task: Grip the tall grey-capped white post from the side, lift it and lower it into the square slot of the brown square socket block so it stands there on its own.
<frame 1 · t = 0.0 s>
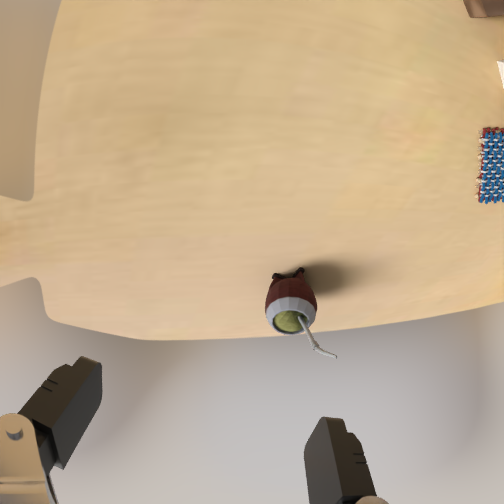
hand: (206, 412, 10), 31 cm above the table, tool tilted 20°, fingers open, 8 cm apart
mate gourd: (294, 280, 47), on the table
woven mat: (502, 161, 32), on the table
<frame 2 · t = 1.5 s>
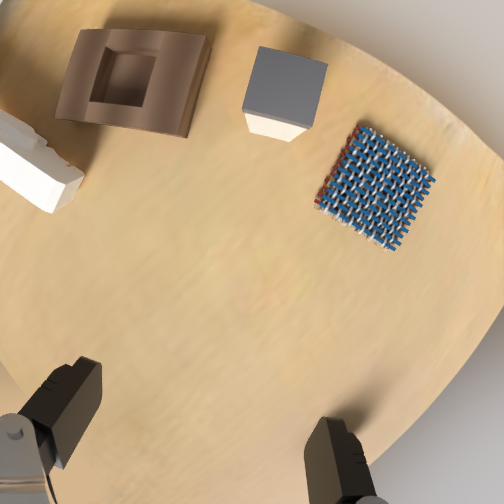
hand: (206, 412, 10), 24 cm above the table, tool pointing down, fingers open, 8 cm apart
grey-capped white post: (274, 118, 30), on the table
brown square socket block: (137, 83, 29), on the table
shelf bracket: (22, 136, 31), on the table
woven mat: (373, 188, 32), on the table
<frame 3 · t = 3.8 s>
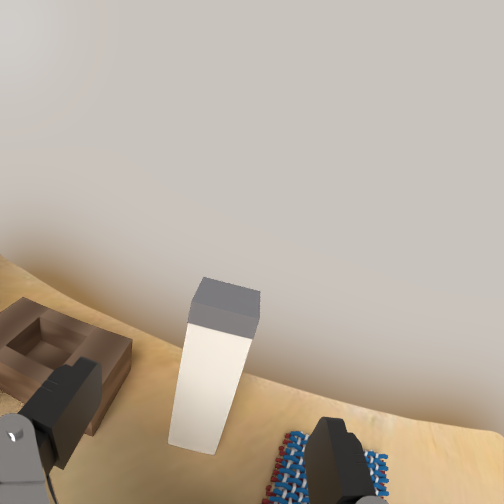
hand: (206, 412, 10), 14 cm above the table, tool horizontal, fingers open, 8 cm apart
grey-capped white post: (194, 433, 25), on the table
brown square socket block: (50, 373, 25), on the table
woven mat: (325, 491, 21), on the table
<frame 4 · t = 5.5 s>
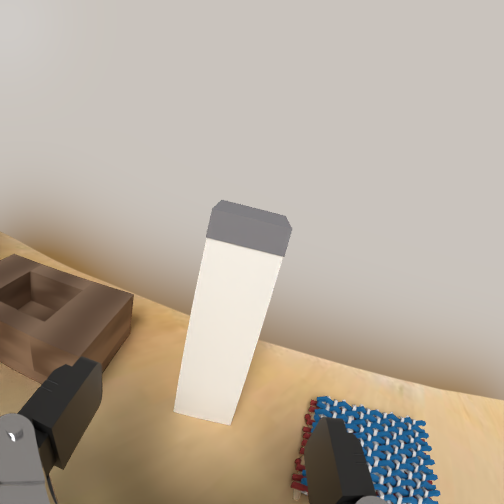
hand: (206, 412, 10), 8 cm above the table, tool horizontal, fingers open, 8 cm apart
grey-capped white post: (205, 400, 22), on the table
brown square socket block: (38, 334, 22), on the table
woven mat: (361, 465, 19), on the table
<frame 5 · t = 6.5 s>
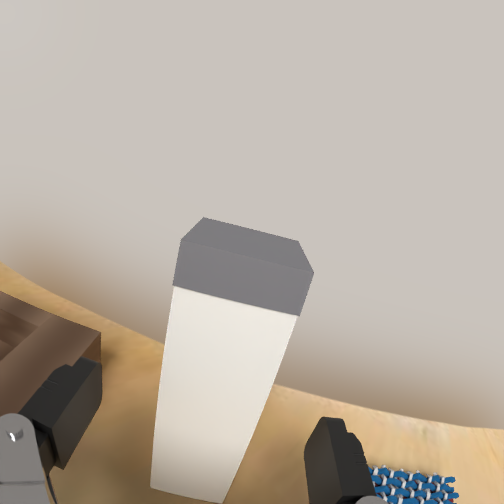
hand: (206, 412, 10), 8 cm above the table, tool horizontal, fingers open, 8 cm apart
grey-capped white post: (191, 470, 15), on the table
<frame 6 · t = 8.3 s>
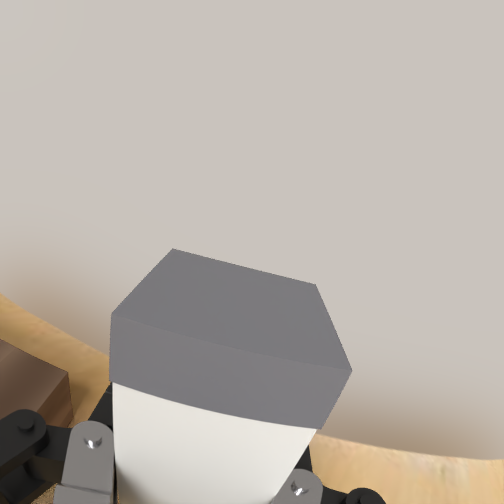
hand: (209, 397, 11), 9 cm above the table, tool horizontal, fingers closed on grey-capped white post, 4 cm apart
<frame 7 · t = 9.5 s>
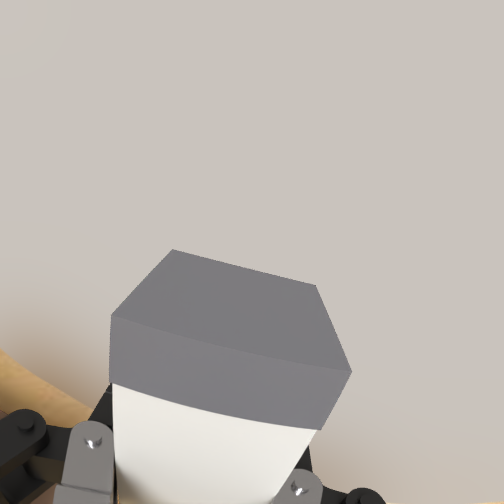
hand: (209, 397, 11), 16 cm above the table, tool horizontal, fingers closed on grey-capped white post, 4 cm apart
when the fingers open (10 cm above the table, at t = 14.5 s): grey-capped white post stays where it is, resting on brown square socket block.
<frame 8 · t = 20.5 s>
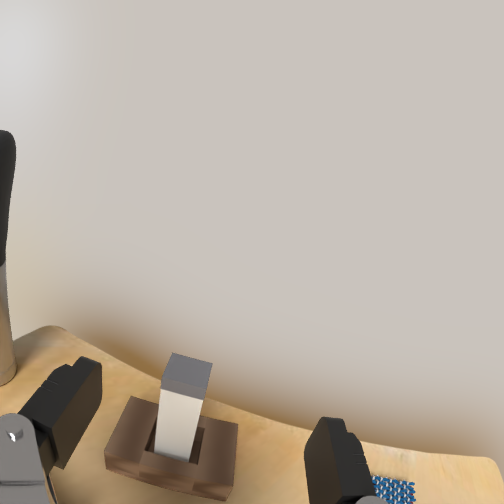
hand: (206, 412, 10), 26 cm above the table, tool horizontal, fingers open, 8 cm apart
grey-capped white post: (173, 453, 32), point 1 cm above the table, touching brown square socket block
brown square socket block: (172, 457, 32), on the table
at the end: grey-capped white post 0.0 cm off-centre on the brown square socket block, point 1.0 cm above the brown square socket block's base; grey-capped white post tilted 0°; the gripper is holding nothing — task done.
